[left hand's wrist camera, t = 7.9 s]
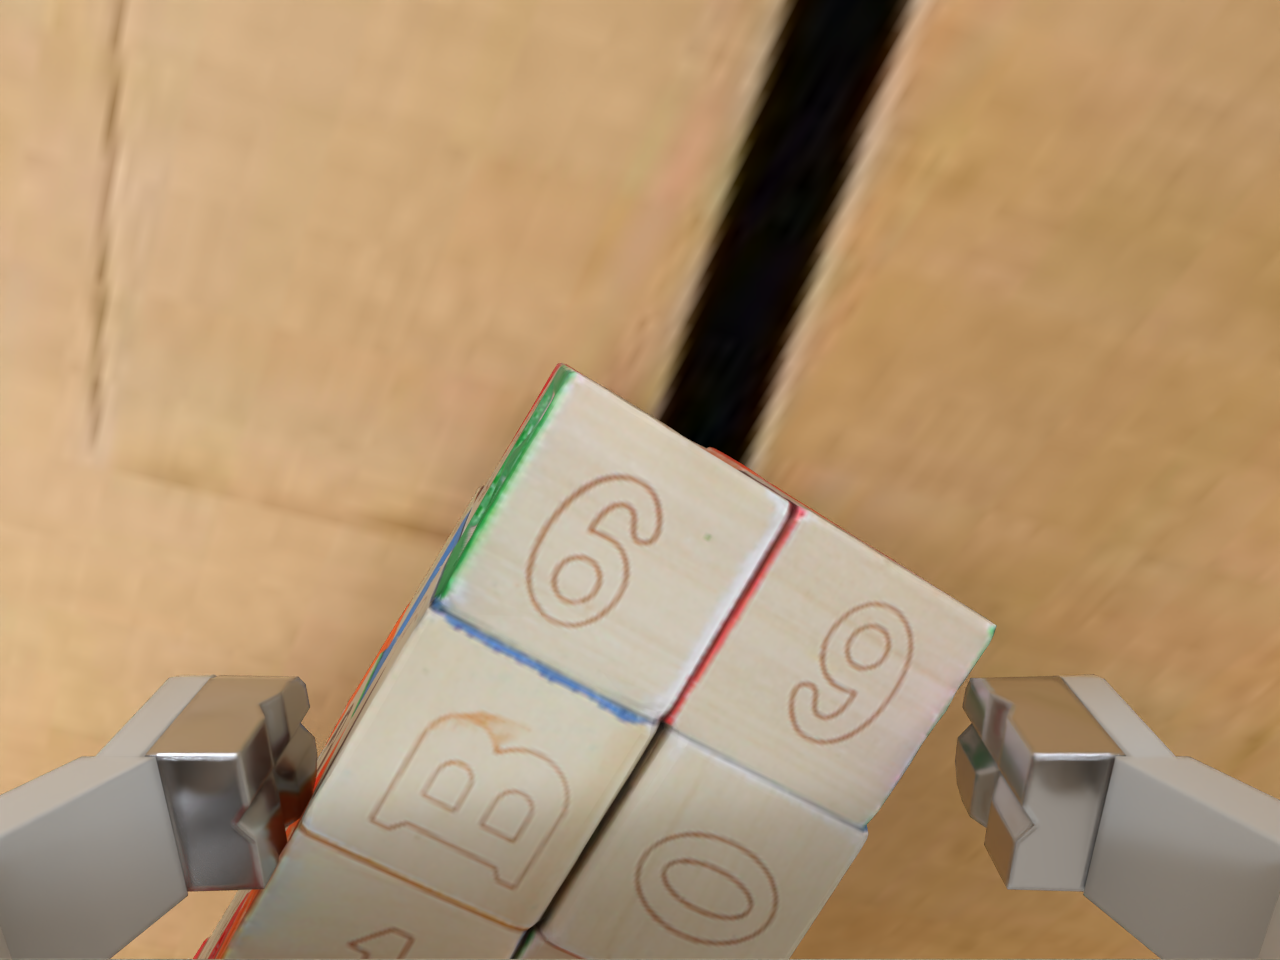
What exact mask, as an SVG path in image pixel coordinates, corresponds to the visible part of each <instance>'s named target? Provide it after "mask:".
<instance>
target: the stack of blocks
mask: <svg viewBox="0 0 1280 960" xmlns="http://www.w3.org/2000/svg"><path fill="white" fill-rule="evenodd" d="M995 629H996V625H995V624H993V623H992V622H991V621H989V620H988V619H987V618H985V617H983V616H982V615H980V614H978V613H977V612H975V611H974V610H972V609H970V608H969V607H967V606H966V605H964V604H962V603H961V602H959V601H957V600H956V599H954V598H953V597H951V596H949V595H948V594H946V593H945V592H943V591H941V590H940V589H938V588H936V587H935V586H933V585H932V584H930V583H928V582H927V581H925V580H924V579H922V578H921V577H919V576H917V575H916V574H914V573H913V572H911V571H910V570H908V569H906V568H905V567H903V566H901V565H900V564H898V563H897V562H896V561H894V560H893V559H891V558H889V557H888V556H886V555H884V554H883V553H881V552H879V551H878V550H876V549H874V548H873V547H871V546H869V545H868V544H866V543H864V542H863V541H861V540H859V539H858V538H856V537H855V536H853V535H852V534H850V533H849V532H847V531H845V530H844V529H842V528H841V527H839V526H838V525H836V524H835V523H833V522H831V521H830V520H828V519H827V518H825V517H824V516H822V515H820V514H819V513H817V512H816V511H814V510H813V509H811V508H809V507H808V506H806V505H804V504H803V503H801V502H800V501H798V500H796V499H795V498H793V497H791V496H790V495H788V494H787V493H785V492H783V491H782V490H780V489H779V488H777V487H776V486H774V485H772V484H771V483H769V482H767V481H766V480H765V479H763V478H762V477H760V476H759V475H758V474H756V473H755V472H753V471H752V470H750V469H749V468H747V467H746V466H744V465H743V464H741V463H739V462H737V461H736V460H734V459H732V458H731V457H729V456H727V455H725V454H724V453H722V452H720V451H718V450H716V449H714V448H711V447H708V448H707V449H706V448H704V447H702V446H700V445H698V444H696V443H694V442H693V441H691V440H689V439H687V438H685V437H683V436H682V435H680V434H679V433H677V432H676V431H675V430H673V429H672V428H670V427H669V426H667V425H666V424H664V423H662V422H661V421H659V420H657V419H656V418H654V417H653V416H651V415H649V414H648V413H646V412H644V411H643V410H641V409H639V408H638V407H636V406H634V405H633V404H631V403H630V402H628V401H626V400H625V399H623V398H621V397H620V396H618V395H616V394H615V393H613V392H612V391H610V390H608V389H606V388H605V387H603V386H601V385H600V384H598V383H596V382H594V381H593V380H591V379H589V378H588V377H586V376H584V375H583V374H581V373H579V372H578V371H576V370H575V369H573V368H571V367H570V366H568V365H567V364H562V363H559V364H557V365H556V367H555V369H554V370H553V372H552V373H551V375H550V377H549V379H548V380H547V382H546V384H545V386H544V387H543V389H542V391H541V393H540V394H539V396H538V398H537V399H536V401H535V403H534V405H533V406H532V408H531V410H530V411H529V413H528V415H527V416H526V418H525V420H524V421H523V423H522V425H521V426H520V428H519V430H518V431H517V433H516V435H515V437H514V438H513V440H512V442H511V444H510V445H509V447H508V448H507V450H506V452H505V453H504V455H503V457H502V459H501V460H500V462H499V464H498V465H497V467H496V468H495V470H494V472H493V473H492V475H491V477H490V478H489V480H488V481H487V483H486V485H485V486H481V487H479V488H478V490H477V492H476V493H475V495H474V497H473V498H472V500H471V502H470V503H469V505H468V507H467V508H466V510H465V512H464V513H463V515H462V517H461V518H460V520H459V522H458V523H457V525H456V526H455V528H454V530H453V531H452V533H451V535H450V536H449V538H448V540H447V541H446V543H445V545H444V546H443V548H442V550H441V551H440V553H439V555H438V556H437V558H436V560H435V561H434V563H433V565H432V566H431V568H430V570H429V571H428V573H427V575H426V576H425V578H424V579H423V581H422V583H421V584H420V586H419V588H418V589H417V591H416V593H415V595H414V597H413V599H412V600H411V602H410V603H409V604H408V606H407V607H406V609H405V610H404V612H403V613H402V615H401V617H400V618H399V620H398V621H397V623H396V625H395V626H394V628H393V630H392V631H391V633H390V635H389V636H388V638H387V640H386V641H385V643H384V645H383V646H382V648H381V649H380V651H379V653H378V654H377V656H376V658H375V659H374V661H373V663H372V664H371V666H370V668H369V669H368V671H367V673H366V674H365V676H364V677H363V679H362V681H361V682H360V684H359V686H358V687H357V689H356V691H355V692H354V694H353V695H352V697H351V698H350V700H349V702H348V703H347V705H346V707H345V709H344V711H343V713H342V715H341V717H340V719H339V721H338V723H337V725H336V726H335V728H334V730H333V732H332V734H331V736H330V738H329V740H328V742H327V744H326V746H325V748H324V749H323V751H322V753H321V754H320V756H319V758H318V759H317V776H316V781H315V785H314V790H313V794H312V796H311V798H310V800H309V802H308V804H307V806H306V808H305V810H304V811H303V813H302V815H301V817H300V819H298V820H297V821H295V822H294V823H292V824H291V825H289V826H288V827H287V828H285V831H286V837H287V844H286V845H285V847H284V849H283V850H282V852H281V854H280V855H279V862H278V864H277V866H276V868H275V870H274V872H273V874H272V876H271V877H270V879H269V881H268V883H267V885H266V887H265V889H254V890H238V892H237V893H236V895H235V897H234V898H233V900H232V902H231V903H230V905H229V906H228V908H227V910H226V911H225V913H224V915H223V916H222V918H221V920H220V921H219V923H218V925H217V926H216V928H215V930H214V931H213V933H212V935H211V936H210V937H208V938H207V939H206V940H205V941H204V942H203V944H202V945H201V947H200V949H199V950H198V952H197V953H196V955H195V956H194V958H193V959H789V958H790V957H791V955H792V954H793V952H794V951H795V949H796V948H797V946H798V945H799V943H800V942H801V940H802V939H803V937H804V936H805V934H806V933H807V931H808V930H809V928H810V927H811V925H812V923H813V922H814V920H815V919H816V917H817V916H818V914H819V913H820V911H821V910H822V908H823V907H824V905H825V904H826V902H827V901H828V899H829V897H830V896H831V894H832V893H833V891H834V890H835V888H836V887H837V885H838V884H839V882H840V881H841V879H842V878H843V876H844V874H845V873H846V871H847V870H848V868H849V867H850V865H851V864H852V862H853V861H854V859H855V858H856V856H857V855H858V853H859V852H860V850H861V848H862V847H863V845H864V843H865V842H866V840H867V837H868V829H867V824H868V823H869V821H870V820H871V819H872V818H873V817H874V816H875V815H876V814H877V813H878V811H879V810H880V808H881V807H882V805H883V804H884V802H885V801H886V799H887V798H888V796H889V795H890V794H891V792H892V791H893V789H894V788H895V786H896V785H897V783H898V782H899V780H900V779H901V777H902V776H903V774H904V773H905V771H906V770H907V768H908V767H909V765H910V763H911V762H912V760H913V758H914V757H915V755H916V753H917V752H918V750H919V749H920V747H921V745H922V744H923V742H924V741H925V739H926V738H927V737H928V735H929V734H930V732H931V731H932V729H933V728H934V727H935V725H936V724H937V722H938V721H939V720H940V718H941V717H942V716H943V714H944V713H945V712H946V710H947V709H948V707H949V705H950V703H951V701H952V699H953V697H954V695H955V693H956V691H957V690H958V689H959V687H960V686H961V685H962V684H963V682H964V681H965V679H966V678H967V676H968V675H969V673H970V672H971V670H972V669H973V667H974V666H975V664H976V663H977V661H978V660H979V658H980V657H981V655H982V654H983V652H984V651H985V649H986V648H987V647H988V645H989V643H990V641H991V639H992V637H993V635H994V632H995Z"/></svg>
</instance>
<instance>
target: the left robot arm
mask: <svg viewBox="0 0 1280 960" xmlns="http://www.w3.org/2000/svg"><path fill="white" fill-rule="evenodd" d="M309 708H310V705H309V700H308V694H307V689H306V684H305V683H304V682H303V681H302V680H301V679H300V678H299V677H283V676H234V675H219V676H216V675H179V676H175V677H171V678H168V679H167V680H166V682H165V683H164V684H163V685H162V686H161V687H160V688H159V689H158V690H157V691H156V692H155V693H154V694H153V695H152V696H151V698H150V699H149V700H148V701H147V702H146V703H145V704H144V705H143V706H142V707H141V708H140V709H139V710H138V711H137V712H136V713H135V715H134V716H133V717H132V718H131V719H130V720H129V721H128V722H127V723H126V724H125V725H124V726H123V727H122V728H121V729H120V731H119V732H118V733H117V734H116V735H115V736H114V737H113V738H112V739H111V740H110V741H109V742H108V743H107V744H106V745H105V746H104V748H103V749H102V750H101V751H100V752H99V753H98V754H97V755H96V756H95V757H80V758H78V759H75V760H73V761H71V762H69V763H67V764H65V765H63V766H61V767H59V768H56V769H54V770H52V771H50V772H48V773H46V774H44V775H42V776H40V777H38V778H35V779H33V780H31V781H29V782H27V783H25V784H23V785H21V786H19V787H16V788H14V789H12V790H10V791H8V792H6V793H4V794H2V795H0V960H1280V800H1279V799H1276V798H1274V797H1272V796H1270V795H1268V794H1266V793H1264V792H1262V791H1260V790H1258V789H1256V788H1254V787H1252V786H1249V785H1247V784H1245V783H1243V782H1241V781H1239V780H1237V779H1235V778H1233V777H1231V776H1229V775H1227V774H1224V773H1222V772H1220V771H1218V770H1216V769H1214V768H1212V767H1210V766H1208V765H1206V764H1204V763H1202V762H1199V761H1197V760H1195V759H1193V758H1191V757H1176V756H1175V755H1174V754H1173V753H1172V752H1171V751H1170V750H1169V749H1168V748H1167V746H1166V745H1165V744H1164V743H1163V742H1162V741H1161V740H1160V739H1159V738H1158V737H1157V736H1156V735H1155V733H1154V732H1153V731H1152V730H1151V729H1150V728H1149V727H1148V726H1147V725H1146V724H1145V723H1144V722H1143V720H1142V719H1141V718H1140V717H1139V716H1138V715H1137V714H1136V713H1135V712H1134V711H1133V710H1132V709H1131V707H1130V706H1129V705H1128V704H1127V703H1126V702H1125V701H1124V700H1123V699H1122V698H1121V697H1120V696H1119V694H1118V693H1117V692H1116V691H1115V690H1114V689H1113V688H1112V687H1111V686H1110V685H1109V684H1108V683H1107V681H1106V680H1105V679H1103V678H1101V677H1099V676H1096V675H1094V674H1090V675H1063V676H1045V677H1000V678H971V679H970V681H969V683H968V685H967V687H966V689H965V695H964V701H963V709H964V711H965V712H966V714H967V716H968V717H969V719H970V721H971V723H972V724H971V725H970V726H969V727H968V728H967V729H966V730H965V731H964V732H963V733H962V734H961V735H960V736H959V737H958V740H957V749H956V757H955V766H956V777H957V785H958V789H959V792H960V795H961V799H962V802H963V804H964V806H965V808H966V810H967V812H968V814H969V816H970V817H971V818H973V819H974V820H976V821H977V822H978V823H980V824H981V825H983V826H984V827H986V828H987V830H986V836H985V842H984V845H985V847H986V849H987V851H988V853H989V855H990V857H991V859H992V861H993V863H994V865H995V867H996V868H997V870H998V872H999V874H1000V876H1001V878H1002V880H1003V882H1004V884H1005V886H1006V888H1007V889H1015V890H1051V891H1084V894H1083V895H1084V896H1085V897H1086V898H1088V899H1089V900H1090V901H1091V902H1092V903H1094V904H1095V905H1096V906H1097V907H1099V908H1100V909H1101V910H1102V911H1103V912H1105V913H1106V914H1107V915H1108V916H1110V917H1111V918H1112V919H1113V920H1114V921H1116V922H1117V923H1118V924H1119V925H1121V926H1122V927H1123V928H1124V929H1125V930H1127V931H1128V932H1129V933H1130V934H1131V935H1133V936H1134V937H1135V938H1136V939H1138V940H1139V941H1140V942H1141V943H1142V944H1144V945H1145V946H1146V947H1147V948H1149V949H1150V950H1151V951H1152V952H1153V953H1155V954H1156V955H1157V956H1158V957H1159V958H1161V959H110V958H111V957H113V956H114V955H115V954H116V953H118V952H119V951H120V950H121V949H123V948H124V947H125V946H126V945H128V944H129V943H130V942H131V941H132V940H134V939H135V938H136V937H137V936H139V935H140V934H141V933H142V932H144V931H145V930H146V929H147V928H148V927H150V926H151V925H152V924H153V923H155V922H156V921H157V920H158V919H160V918H161V917H162V916H163V915H164V914H166V913H167V912H168V911H169V910H171V909H172V908H173V907H174V906H176V905H177V904H178V903H179V902H180V901H182V900H183V899H184V898H185V897H187V896H188V892H187V891H219V890H254V889H265V887H266V885H267V883H268V881H269V879H270V877H271V876H272V874H273V872H274V870H275V868H276V866H277V864H278V862H279V855H280V854H281V852H282V850H283V849H284V847H285V845H286V844H287V837H286V831H285V828H287V827H288V826H289V825H291V824H292V823H294V822H295V821H297V820H298V819H300V817H301V815H302V813H303V811H304V810H305V808H306V806H307V804H308V802H309V800H310V798H311V796H312V794H313V790H314V785H315V781H316V776H317V749H316V742H315V738H314V736H313V735H312V734H311V733H310V732H309V731H308V730H307V729H306V728H305V727H304V726H303V725H302V724H301V721H302V720H303V718H304V716H305V715H306V713H307V711H308V710H309Z"/></svg>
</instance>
